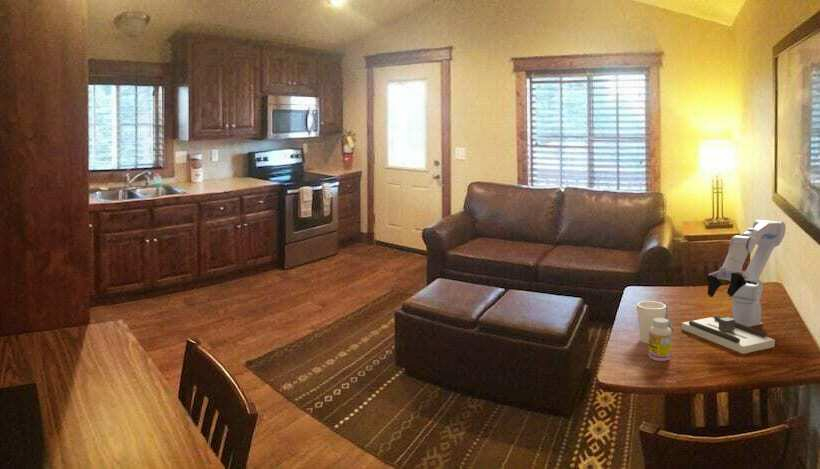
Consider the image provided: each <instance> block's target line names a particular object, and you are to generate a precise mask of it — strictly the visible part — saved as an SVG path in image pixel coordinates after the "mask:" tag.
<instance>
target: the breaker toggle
mask: <svg viewBox="0 0 820 469" xmlns="http://www.w3.org/2000/svg"><path fill="white" fill-rule="evenodd" d="M734 329H735V319H732V317H728V316H726V317H722V318H720V319H719V329H718V330H721V331H724V332H730V331H734Z"/></svg>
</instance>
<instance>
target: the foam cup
mask: <svg viewBox="0 0 820 469" xmlns="http://www.w3.org/2000/svg"><path fill="white" fill-rule="evenodd" d="M660 302H661V301H660ZM660 302H659V301H654V300H653V301H652V300H643V301H639V302H637V303H636V312H637V320H638V329H639V340H640V342H642V343H644V344H648V345H649V329H650V327H651V326H653V325H654V324H653V319H654V318H665V314H666V305H665V304H663V303H660Z"/></svg>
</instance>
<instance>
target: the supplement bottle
mask: <svg viewBox="0 0 820 469" xmlns="http://www.w3.org/2000/svg"><path fill="white" fill-rule="evenodd" d="M653 324H654V325H653V326H651V327H650V329H649V344H648V358H650V359H651V360H653V361H658V362H666V361H669V360H670V359H671V354H672V334H673V331H671V329H670V328H669V327H668V325H669V320H668V319H665V318H654V319H653Z"/></svg>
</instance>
